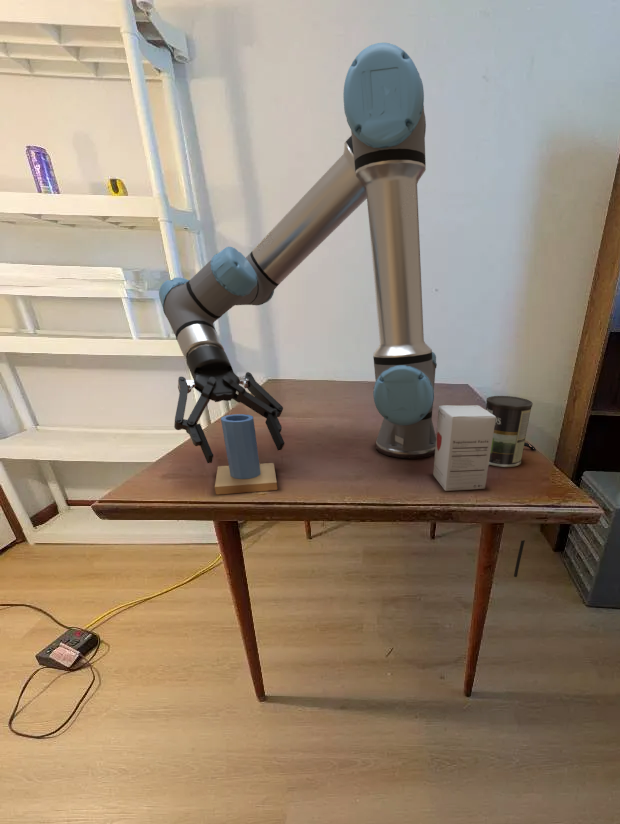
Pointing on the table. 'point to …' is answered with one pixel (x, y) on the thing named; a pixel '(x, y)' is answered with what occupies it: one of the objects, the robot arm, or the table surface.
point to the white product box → (463, 447)
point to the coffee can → (508, 429)
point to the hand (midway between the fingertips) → (247, 453)
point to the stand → (245, 481)
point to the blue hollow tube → (241, 446)
